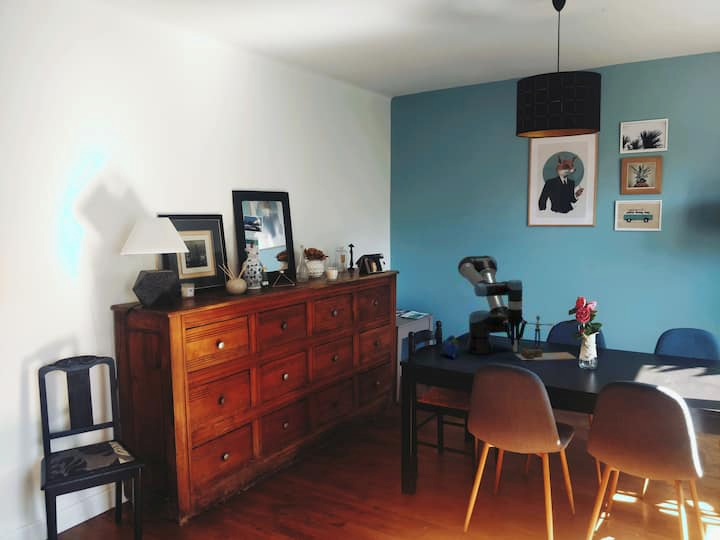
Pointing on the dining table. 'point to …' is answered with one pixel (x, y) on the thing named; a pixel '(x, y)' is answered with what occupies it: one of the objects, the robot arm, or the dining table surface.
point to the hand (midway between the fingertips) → (515, 351)
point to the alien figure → (538, 332)
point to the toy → (450, 346)
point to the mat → (550, 356)
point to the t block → (531, 353)
